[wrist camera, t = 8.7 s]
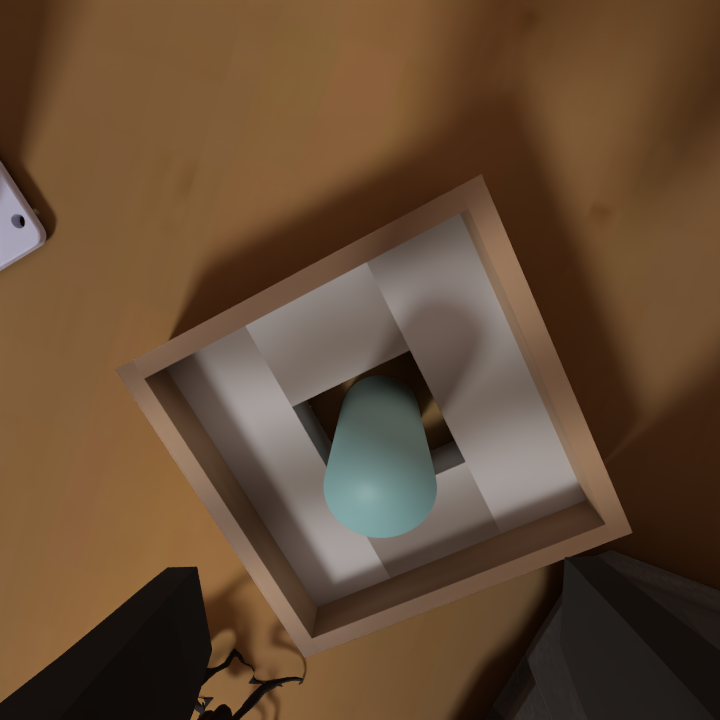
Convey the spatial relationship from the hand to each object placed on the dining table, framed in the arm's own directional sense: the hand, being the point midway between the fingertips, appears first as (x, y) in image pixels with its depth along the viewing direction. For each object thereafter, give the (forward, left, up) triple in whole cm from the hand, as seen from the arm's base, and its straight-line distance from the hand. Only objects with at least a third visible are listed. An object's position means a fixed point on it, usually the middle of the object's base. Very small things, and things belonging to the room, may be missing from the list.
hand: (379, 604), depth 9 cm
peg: (0, 0, -10) cm, 10 cm away
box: (0, 0, -10) cm, 10 cm away
